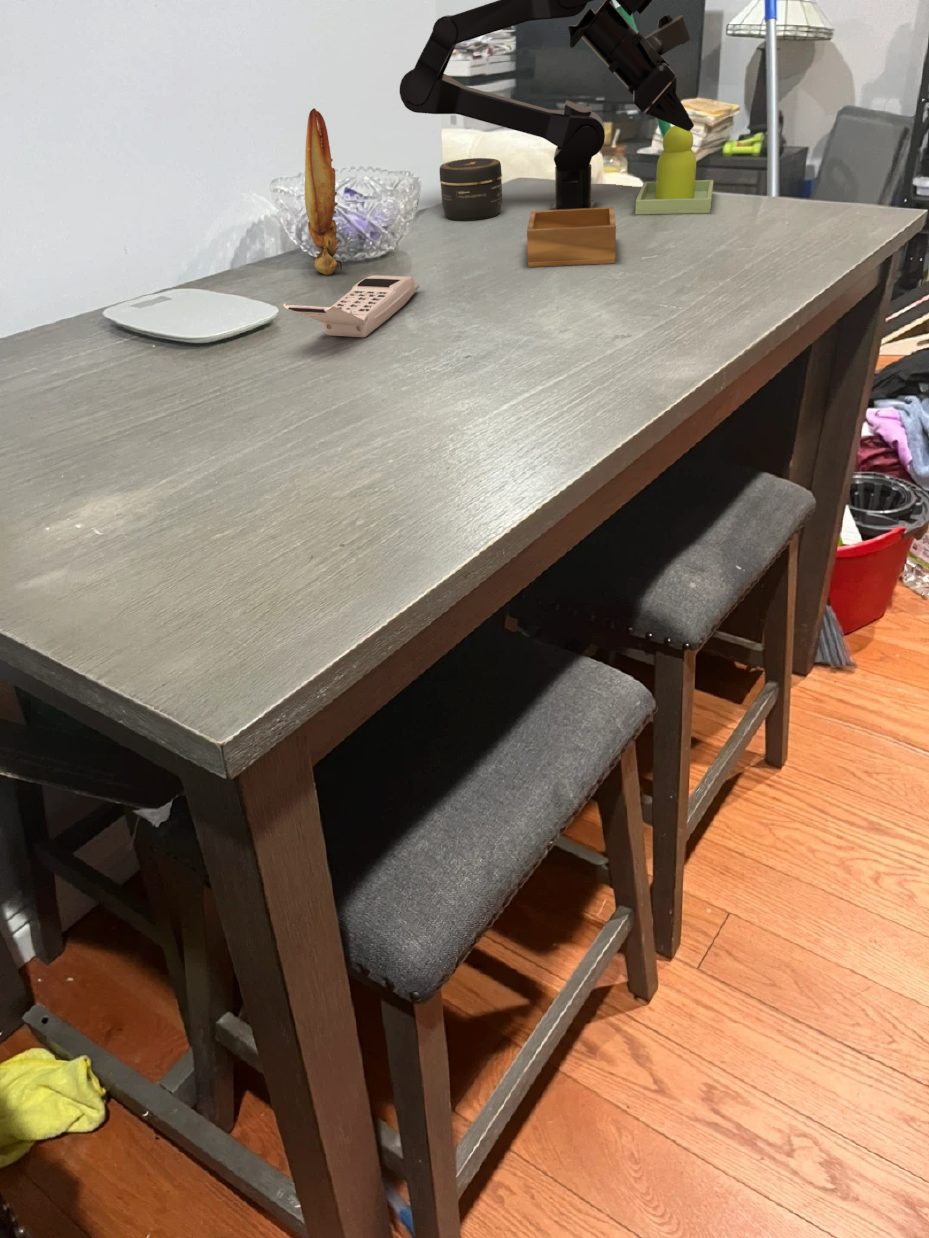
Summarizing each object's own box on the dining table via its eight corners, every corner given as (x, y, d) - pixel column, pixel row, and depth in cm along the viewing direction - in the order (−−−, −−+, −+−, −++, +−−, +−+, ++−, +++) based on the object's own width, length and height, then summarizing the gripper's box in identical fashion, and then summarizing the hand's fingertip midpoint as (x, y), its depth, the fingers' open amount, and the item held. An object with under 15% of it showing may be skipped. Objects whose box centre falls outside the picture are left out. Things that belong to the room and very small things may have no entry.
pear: (653, 205, 142) (657, 117, 135) (657, 196, 147) (661, 111, 140) (692, 204, 141) (698, 115, 134) (695, 195, 146) (701, 110, 139)
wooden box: (531, 245, 129) (531, 211, 126) (612, 241, 128) (613, 206, 125) (527, 267, 120) (526, 230, 117) (615, 263, 118) (615, 226, 116)
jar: (506, 206, 151) (504, 156, 147) (500, 220, 143) (497, 167, 139) (448, 209, 153) (444, 159, 148) (438, 223, 145) (433, 171, 140)
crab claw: (333, 283, 120) (307, 112, 109) (299, 282, 122) (269, 114, 110) (355, 269, 125) (333, 104, 114) (322, 268, 127) (297, 106, 115)
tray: (643, 195, 151) (643, 182, 150) (712, 193, 148) (713, 180, 147) (635, 214, 140) (635, 200, 139) (709, 213, 137) (710, 199, 136)
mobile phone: (279, 305, 93) (375, 241, 112) (289, 361, 97) (381, 290, 115) (332, 308, 91) (421, 243, 110) (340, 364, 95) (425, 292, 114)
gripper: (662, -4, 121) (739, 85, 126) (655, -8, 136) (724, 71, 141) (602, 69, 127) (677, 151, 132) (602, 57, 142) (670, 131, 147)
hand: (689, 124), depth 138 cm, fingers open, 9 cm apart
